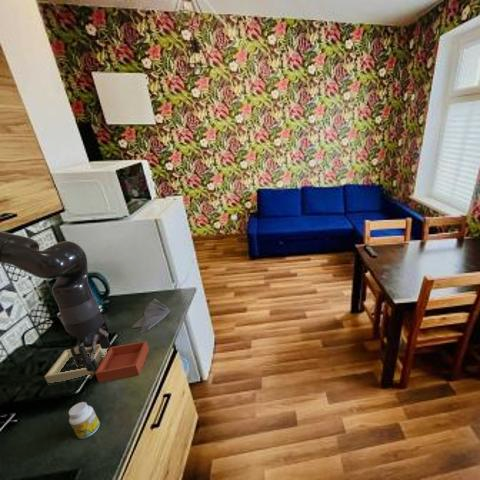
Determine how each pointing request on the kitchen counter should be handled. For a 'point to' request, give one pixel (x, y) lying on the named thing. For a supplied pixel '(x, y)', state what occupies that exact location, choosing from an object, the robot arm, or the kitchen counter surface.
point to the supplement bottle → (83, 420)
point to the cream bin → (58, 376)
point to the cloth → (152, 315)
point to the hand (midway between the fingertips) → (100, 358)
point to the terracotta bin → (122, 361)
